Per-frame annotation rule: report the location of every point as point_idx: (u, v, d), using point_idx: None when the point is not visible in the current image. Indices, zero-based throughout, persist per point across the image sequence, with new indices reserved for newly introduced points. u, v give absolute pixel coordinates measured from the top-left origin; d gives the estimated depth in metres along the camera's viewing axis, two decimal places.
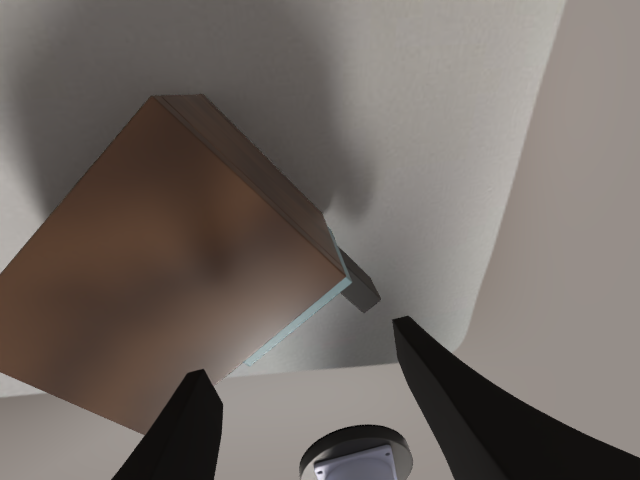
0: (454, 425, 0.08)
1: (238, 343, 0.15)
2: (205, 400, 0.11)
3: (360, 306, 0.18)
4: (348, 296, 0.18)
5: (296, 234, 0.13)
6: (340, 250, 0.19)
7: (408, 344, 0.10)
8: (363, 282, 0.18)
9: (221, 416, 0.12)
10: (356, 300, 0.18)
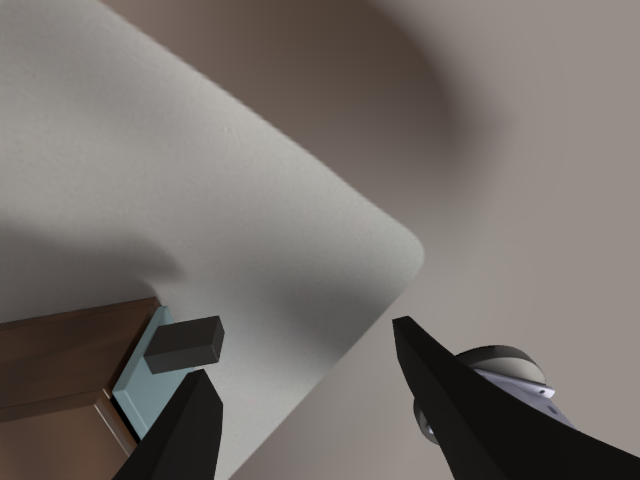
0: (454, 425, 0.08)
1: None
2: (205, 400, 0.11)
3: (207, 362, 0.17)
4: (187, 366, 0.17)
5: (21, 420, 0.13)
6: (161, 330, 0.18)
7: (408, 344, 0.10)
8: (179, 349, 0.17)
9: (221, 416, 0.12)
10: (196, 362, 0.17)
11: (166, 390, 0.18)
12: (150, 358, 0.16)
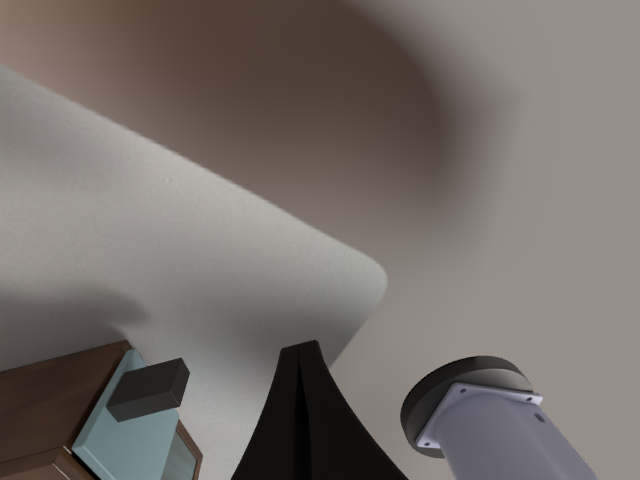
0: None
1: None
2: None
3: (168, 407, 0.18)
4: (149, 412, 0.18)
5: None
6: (126, 376, 0.19)
7: (301, 372, 0.10)
8: (139, 397, 0.17)
9: None
10: (158, 408, 0.17)
11: (136, 434, 0.19)
12: (113, 408, 0.17)
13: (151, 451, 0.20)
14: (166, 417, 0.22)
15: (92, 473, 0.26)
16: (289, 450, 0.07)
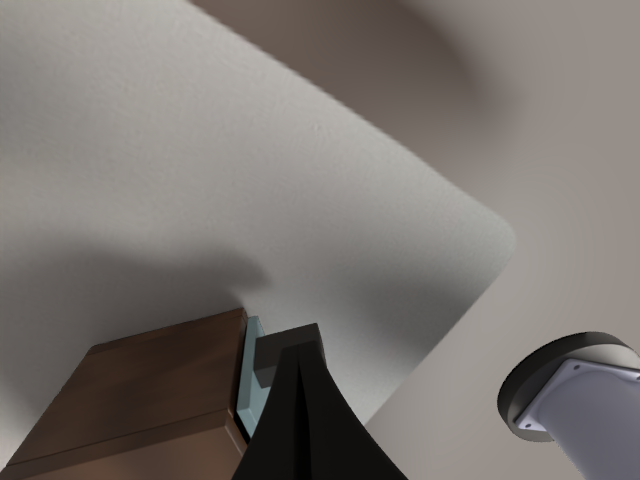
0: None
1: None
2: None
3: None
4: None
5: (153, 446, 0.13)
6: (261, 341, 0.17)
7: (301, 372, 0.10)
8: None
9: None
10: None
11: None
12: (260, 372, 0.16)
13: None
14: None
15: None
16: (289, 450, 0.07)
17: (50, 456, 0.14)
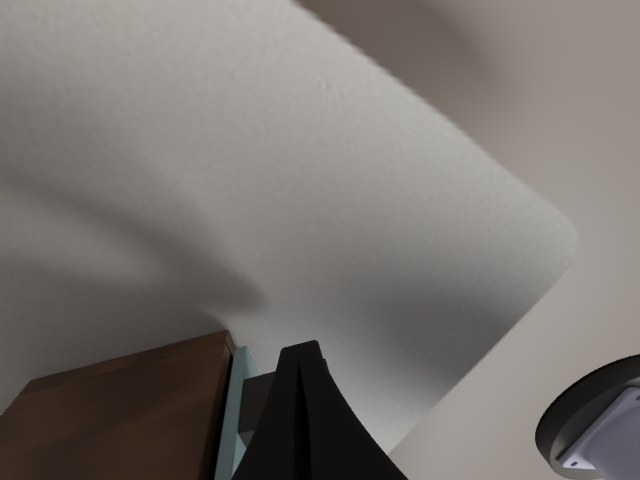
0: None
1: None
2: None
3: None
4: None
5: None
6: (251, 385, 0.13)
7: (301, 372, 0.10)
8: None
9: None
10: None
11: None
12: (248, 435, 0.11)
13: None
14: None
15: None
16: (289, 450, 0.07)
17: None
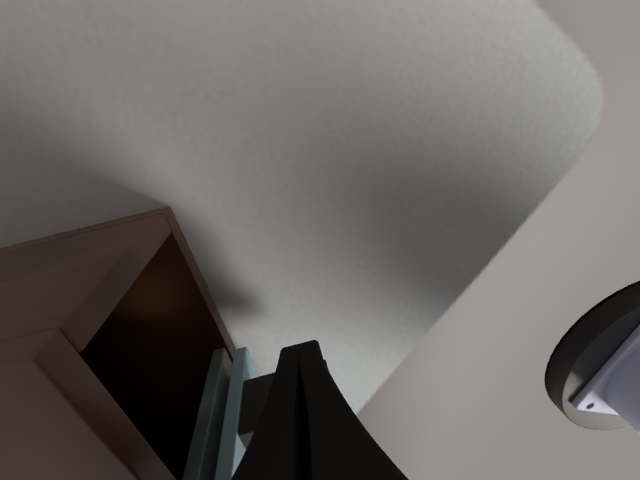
0: None
1: None
2: None
3: None
4: None
5: None
6: (250, 387, 0.13)
7: (301, 372, 0.10)
8: None
9: None
10: None
11: None
12: (248, 436, 0.11)
13: None
14: None
15: None
16: (289, 450, 0.07)
17: None
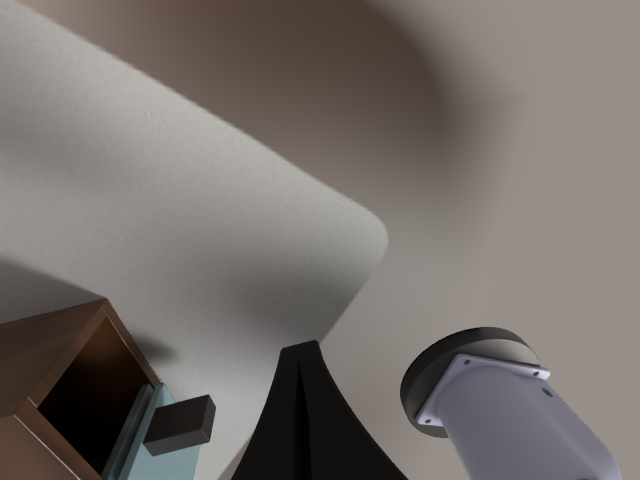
0: None
1: None
2: None
3: (199, 442, 0.19)
4: (182, 447, 0.19)
5: None
6: (158, 412, 0.20)
7: (301, 372, 0.10)
8: (173, 435, 0.19)
9: None
10: (190, 444, 0.19)
11: (167, 465, 0.20)
12: (149, 444, 0.19)
13: None
14: None
15: None
16: (289, 450, 0.07)
17: None
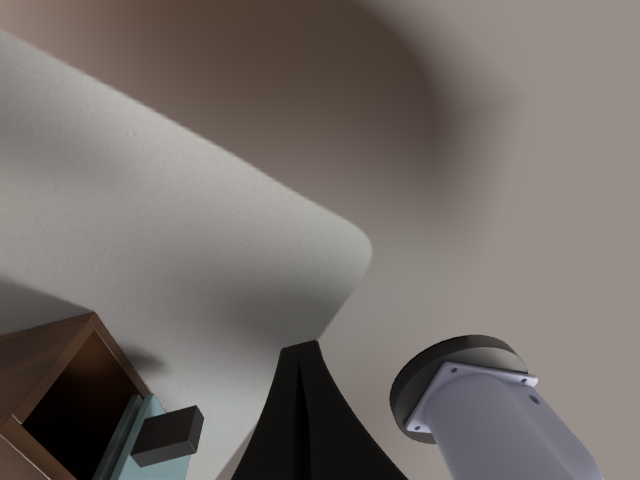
0: None
1: None
2: None
3: (186, 453, 0.19)
4: (169, 458, 0.19)
5: None
6: (147, 423, 0.21)
7: (301, 372, 0.10)
8: (160, 446, 0.19)
9: None
10: (177, 455, 0.19)
11: (155, 475, 0.21)
12: (136, 456, 0.19)
13: None
14: None
15: (64, 457, 0.24)
16: (289, 450, 0.07)
17: None
